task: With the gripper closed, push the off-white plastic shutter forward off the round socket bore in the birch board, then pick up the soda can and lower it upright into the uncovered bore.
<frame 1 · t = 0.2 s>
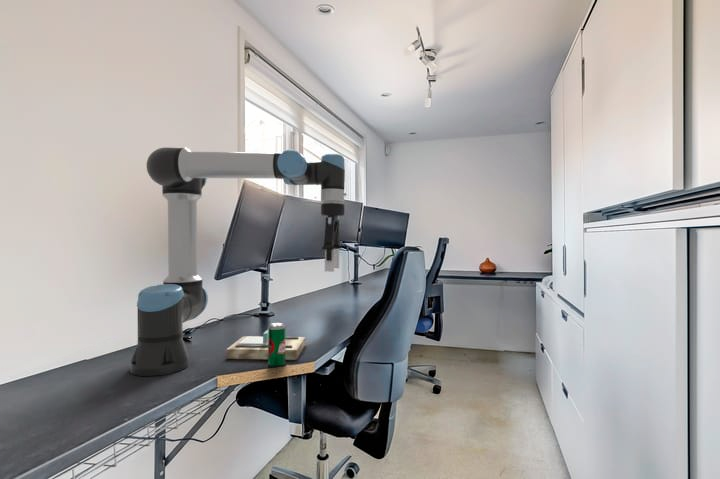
hand: (332, 269, 125), 28 cm above the table, fingers open, 13 cm apart
socket board: (268, 351, 130), on the table
shutter: (256, 336, 130), point 5 cm above the table, slide at 0.0 cm
soda can: (276, 365, 117), on the table
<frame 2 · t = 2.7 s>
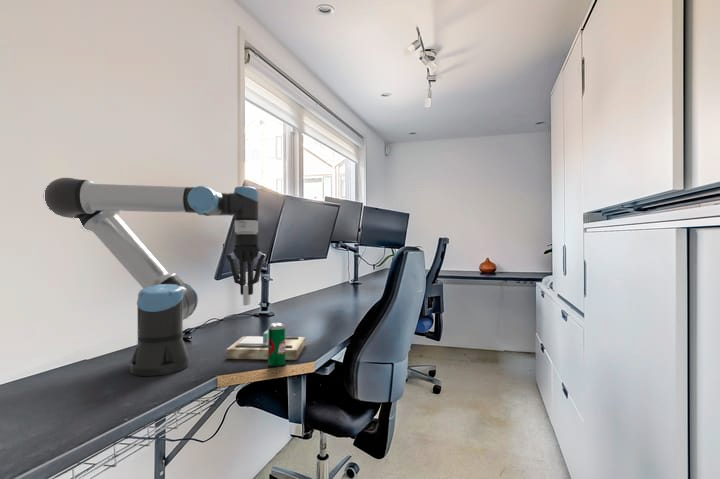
hand: (246, 304, 130), 16 cm above the table, fingers closed
nothing on the table moved.
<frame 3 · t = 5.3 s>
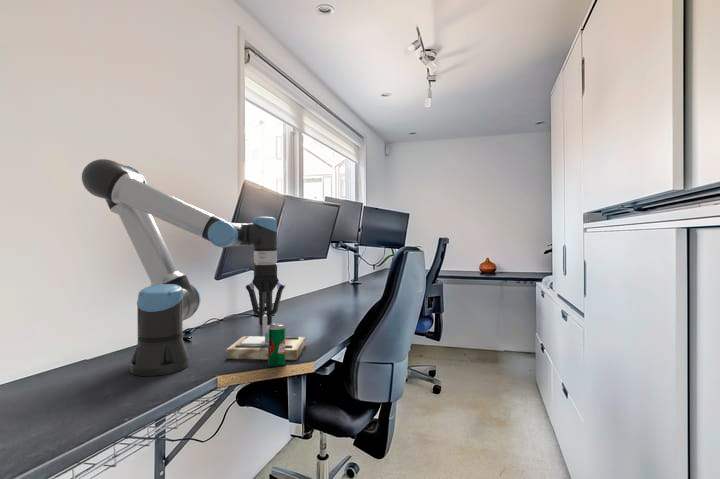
hand: (265, 334, 130), 6 cm above the table, fingers closed
shutter: (258, 336, 130), point 5 cm above the table, slide at 0.7 cm, touching gripper
everything else where it was.
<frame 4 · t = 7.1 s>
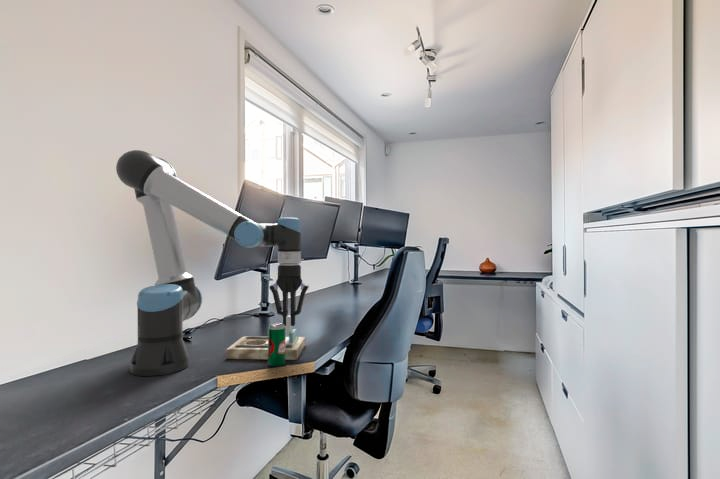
hand: (289, 335, 130), 5 cm above the table, fingers closed
shutter: (281, 336, 130), point 5 cm above the table, slide at 8.5 cm, touching gripper
everything else where it was.
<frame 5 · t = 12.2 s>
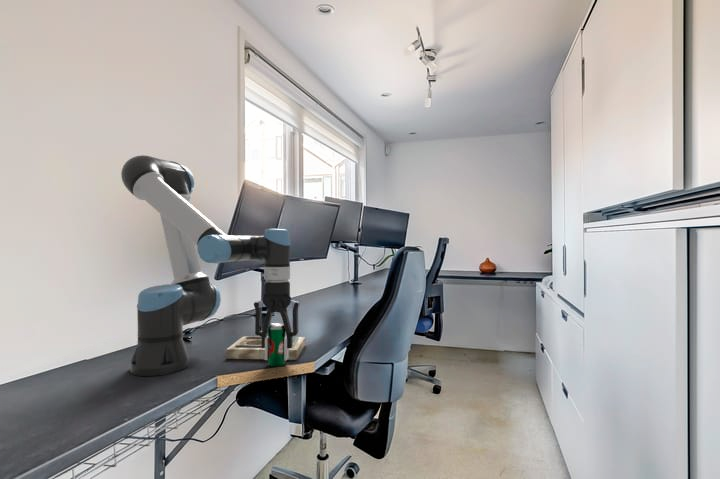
hand: (276, 358, 117), 2 cm above the table, fingers closed on soda can, 5 cm apart
shutter: (281, 336, 130), point 5 cm above the table, slide at 8.5 cm
soda can: (276, 365, 117), on the table, touching gripper
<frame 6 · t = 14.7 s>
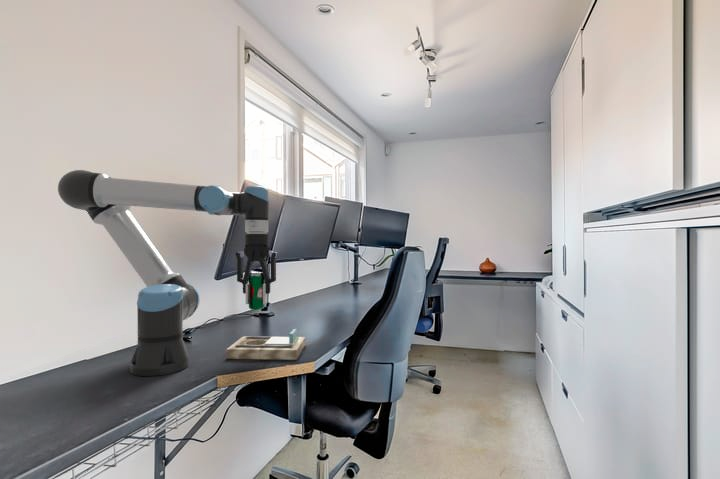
hand: (256, 303, 130), 16 cm above the table, fingers closed on soda can, 5 cm apart
soda can: (256, 309, 130), point 14 cm above the table, touching gripper
everything else where it was.
when the fingers open (4 cm above the table, at t = 17.1 s): soda can drops 2 cm, resting in socket board.
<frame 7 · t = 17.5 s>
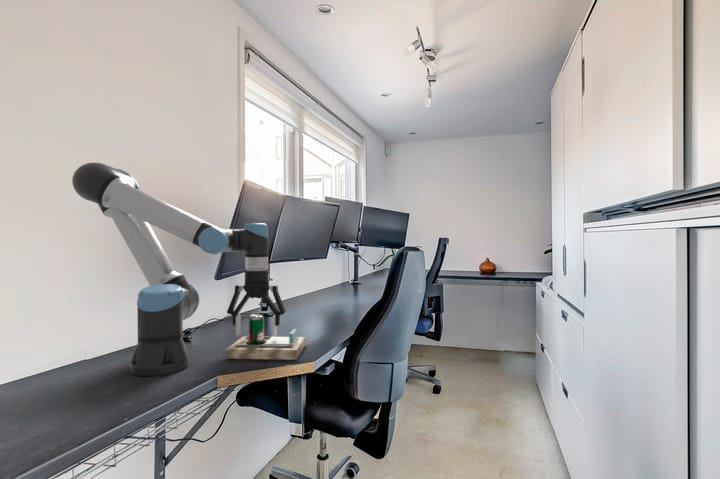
hand: (256, 335, 130), 5 cm above the table, fingers open, 11 cm apart
soda can: (256, 352, 130), resting in socket board
everything else where it was.
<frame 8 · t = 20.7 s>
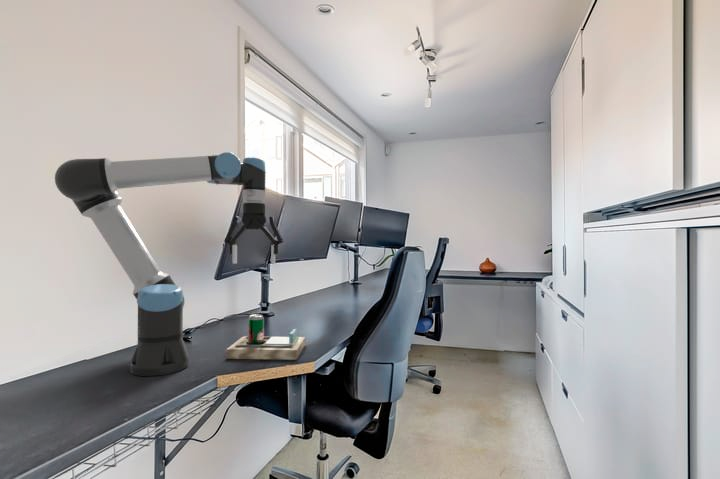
hand: (254, 263, 137), 29 cm above the table, fingers open, 13 cm apart
nothing on the table moved.
at the end: soda can 0.1 cm from the target spot in the socket board, point 0.0 cm above the socket board's base; soda can tilted 0°; shutter slide at 8.5 cm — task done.
